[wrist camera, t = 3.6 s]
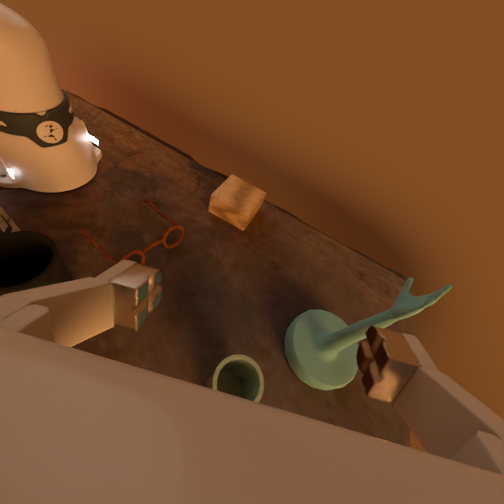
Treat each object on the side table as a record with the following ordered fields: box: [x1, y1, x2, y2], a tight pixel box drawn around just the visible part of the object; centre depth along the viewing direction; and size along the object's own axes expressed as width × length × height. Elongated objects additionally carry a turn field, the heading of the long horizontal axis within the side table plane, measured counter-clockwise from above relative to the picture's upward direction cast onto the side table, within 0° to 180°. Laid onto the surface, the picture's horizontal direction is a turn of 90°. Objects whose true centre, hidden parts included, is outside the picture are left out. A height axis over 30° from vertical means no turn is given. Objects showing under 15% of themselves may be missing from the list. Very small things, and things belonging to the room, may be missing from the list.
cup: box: [0, 231, 73, 296], centre depth 31 cm, size 8×8×12 cm
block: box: [208, 174, 266, 231], centre depth 54 cm, size 9×9×5 cm
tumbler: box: [204, 354, 264, 403], centre depth 31 cm, size 6×6×10 cm
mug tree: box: [284, 277, 453, 390], centre depth 32 cm, size 12×12×25 cm
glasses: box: [77, 199, 184, 265], centre depth 43 cm, size 13×13×5 cm
